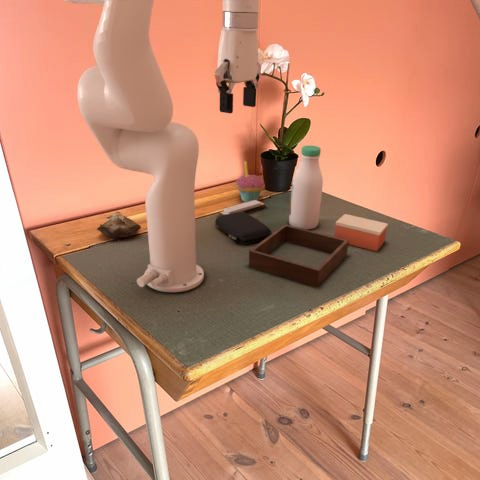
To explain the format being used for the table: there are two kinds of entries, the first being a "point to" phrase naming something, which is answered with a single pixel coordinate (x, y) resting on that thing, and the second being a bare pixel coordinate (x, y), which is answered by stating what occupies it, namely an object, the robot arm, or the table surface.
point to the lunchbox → (361, 231)
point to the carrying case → (243, 227)
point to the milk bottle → (306, 190)
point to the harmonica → (244, 207)
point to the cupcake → (249, 186)
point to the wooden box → (293, 269)
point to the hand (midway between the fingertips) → (238, 109)
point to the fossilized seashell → (119, 226)
